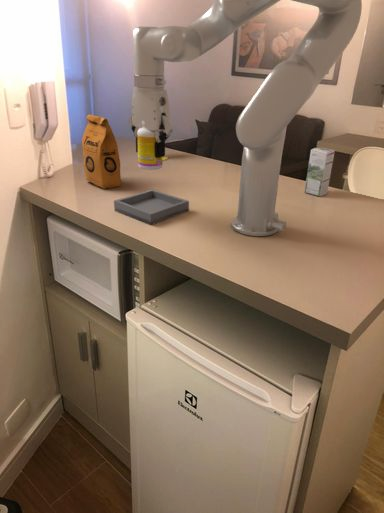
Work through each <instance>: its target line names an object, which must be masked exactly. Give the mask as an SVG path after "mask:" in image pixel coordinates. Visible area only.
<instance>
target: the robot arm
mask: <svg viewBox="0 0 384 513" xmlns="http://www.w3.org/2000/svg"><path fill="white" fill-rule="evenodd" d="M280 1H281V0H214V1H213V3H212V5H211V6H210V8H209V9H208V10H207V11H206V12H204V13H203V14H202V15H201V16H199V17H198V18H197V19H196V20H194V21H193V22H191V23H190V24H189V25H187V26H179V25H169V26H163V27H157V26H136V27H135V28H134V29H133V31H132V50H133V52H132V53H133V56H132V57H133V80H134V81H133V84H134V86H133V89H132V90H133V91H132V102H131V116H130V117H129V119H128V121H127V122H128V124H129V126H130V128H131V131H132V132H133V137H134V138H135V152H136V153H137V154H138V137H137V132H138V130H139V129H140V128H142V127H143V126H144V127H145V128H146V129H148V130H151V131H154V135H155V138H156V141H157V142H155V157H156V158H159V157H163V156H166V142H167V141H168V138H169V137H170V136H171V134H172V133H173V131H174V127H173V126H172V124H171V118H170V117H171V116H170V114H171V113H170V105H169V104H170V103H169V96H168V92H167V89H165V85H166V83H167V82H166V80H165V62H168V63H181V62H190V61H194V60H195V59H197V58H200V57H201V56H203V55H205V54H206V53H207V52H208V51H211V50H213V48H215V47H216V46H217V45H219V44H220V43H222V42H223V41H224V40H225V39H227V38H228V37H229V36H231V35H232V34H234V33H235V32H236V31H237V30H238V29H239V28H240V27H242V26H243V25H245V24H246V23H248V22H250V21H251V20H252V19H254V18H256V17H257V16H258V15H260V14H262V13H263V12H265V11H267V10H268V9H269V8H271V7H272V6H274V5H275V4H277V3H279V2H280ZM291 1H292V2H297V3H299V4H300V3H301V4H304V5H305V4H306V5H308V6H312V7H317V8H318V15H317V18H316V20H315V22H314V23H313V24H312V26H311V27H310V29H309V30H308V31H307V33H306V34H305V35H304V37H303V39H302V40H301V41H300V43H299V44H298V46H297V47H296V48H295V50H294V51H293V53H291V55H290V56H289V58H288V59H286V60H283V61H282V62H279V63H278V64H276V65H275V66H274V68H272V70H271V71H270V72H269V73H268V74H267V76H266V77H265V78H264V80H263V82H262V83H260V86H258V89H256V92H255V93H254V94H253V96H252V97H251V98H250V100H249V101H248V102H247V104H246V105H245V107H244V108H243V110H242V111H241V113H240V114H239V115H238V118H237V121H236V123H235V133H236V138H237V140H238V141H239V143H240V144H241V145H242V147H243V151H242V157H241V169H240V182H239V191H238V192H239V193H238V205H237V215H236V216H235V217H233V218H232V219H231V221H230V227H231V229H233V231H236V232H237V233H240V234H243V235H245V236H246V235H247V236H252V237H266V236H271V235H273V234H276V233H277V232H282V233H283V232H285V231H286V228H287V226H286V225H287V221H285V220H281V219H279V218H278V217H279V212H276V204H277V196H278V188H279V181H280V171H281V165H282V158H283V157H282V156H283V151H284V144H285V140H286V132H287V127H288V125H289V124H290V123H291V121H292V120H293V119H294V117H295V116H296V115H297V114H298V113H299V111H300V110H301V108H303V106H304V105H305V104H306V102H307V101H308V100H309V99H311V97H312V96H313V95H314V92H315V91H316V89H317V87H318V86H319V85H320V83H321V81H322V80H324V78H325V77H326V75H327V74H328V73H329V71H330V70H331V68H333V66H334V64H335V63H336V62H337V61H338V60H339V58H340V56H341V55H342V54H343V53H344V52H345V50H346V49H347V47H348V45H349V44H350V43H351V41H352V39H354V38H353V37H354V36H355V34H356V32H357V29H358V27H359V24H360V20H361V17H362V9H363V6H362V5H363V4H362V3H363V2H362V0H291ZM142 121H144V122H145V125H142ZM159 132H160V133H161V135H159Z"/></svg>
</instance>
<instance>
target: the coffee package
mask: <svg viewBox="0 0 384 513" xmlns="http://www.w3.org/2000/svg"><path fill="white" fill-rule="evenodd" d="M86 120H87V121H88V123H87V125H86V127H85V130H84V132H83V134H82V135H83V136H82V138H81V143H82V144H81V146H82V156H83V168H84V173H85V176H84V177H85V181H87V182H89V183H92V184H93V185H94V186H97V187H99V188H101V189H103V190H106V189H113V188H117V187H121V186H122V181H121V180H122V179H121V178H122V177H121V160H120V154H119V148H118V144H117V140H116V137H115V135H114V132H113V130H112V128H111V125H110V123H109V121H108V119H107V118H104V117H102V116H97V115H94V114H88V115H87V116H86Z"/></svg>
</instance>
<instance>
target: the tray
mask: <svg viewBox="0 0 384 513" xmlns="http://www.w3.org/2000/svg"><path fill="white" fill-rule="evenodd" d="M113 207H114V212H117V213H119V214H121V215H125V216H127V217H129V218H132V219H135V220H137V221H140V222H142V223H145V224H147V225H149V226H151V225H155V224H158V223H160V222H162V221H166V220H168V219H171V218H173V217H176V216H180V215H181V214H184V213H187V212H189V209H190V202H189V200H187V199H184V198H180V197H177V196H175V195H172V194H169V193H168V194H167V193H165V192H162V191H159V190H157V189H149V190H146V191H142V192H140V193H139V192H138V193H135V194H132V195H128V196H125V197H123V198H122V197H121V198H119V199H115V200H113Z"/></svg>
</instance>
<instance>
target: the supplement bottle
mask: <svg viewBox="0 0 384 513" xmlns="http://www.w3.org/2000/svg"><path fill="white" fill-rule="evenodd" d="M142 125H145V122H144V121H142ZM159 135H161V133H160V132H159ZM137 137H138V153H137V166H138V168H140V169H142V170H146V171H147V170H148V171H155V170H160V169H161V168H162V167H163V164H164V162H163V157H159V158H156V157H155V142H157V141H156V138H155V135H154V131H151V130H148V129H146V128H145V127H144V126H143V127H142V128H140V129H139V130H138V132H137Z"/></svg>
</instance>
